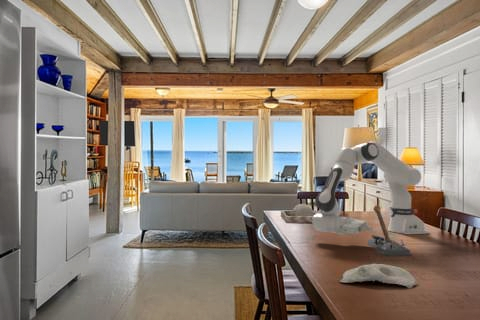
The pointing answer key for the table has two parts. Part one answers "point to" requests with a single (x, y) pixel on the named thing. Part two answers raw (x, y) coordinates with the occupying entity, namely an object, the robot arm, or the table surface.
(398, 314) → the table surface
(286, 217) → the driftwood frame
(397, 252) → the panel
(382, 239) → the block
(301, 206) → the seashell
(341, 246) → the table surface
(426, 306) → the table surface
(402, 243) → the stub toggle
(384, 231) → the lever
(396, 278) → the stone
